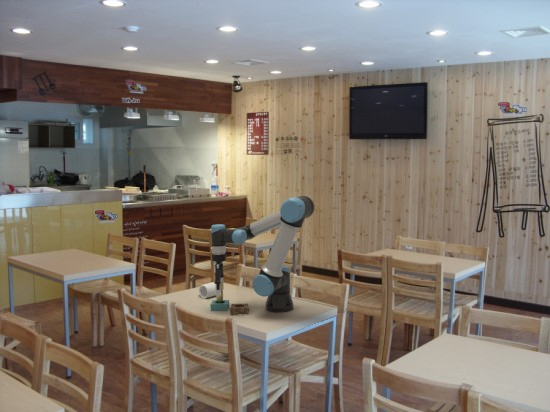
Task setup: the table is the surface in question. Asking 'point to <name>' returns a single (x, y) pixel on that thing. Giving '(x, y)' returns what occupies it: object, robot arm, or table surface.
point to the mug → (207, 290)
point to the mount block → (239, 309)
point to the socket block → (219, 305)
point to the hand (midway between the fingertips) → (219, 292)
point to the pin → (220, 298)
